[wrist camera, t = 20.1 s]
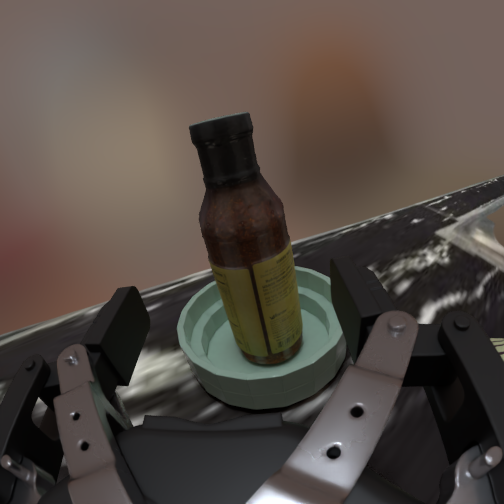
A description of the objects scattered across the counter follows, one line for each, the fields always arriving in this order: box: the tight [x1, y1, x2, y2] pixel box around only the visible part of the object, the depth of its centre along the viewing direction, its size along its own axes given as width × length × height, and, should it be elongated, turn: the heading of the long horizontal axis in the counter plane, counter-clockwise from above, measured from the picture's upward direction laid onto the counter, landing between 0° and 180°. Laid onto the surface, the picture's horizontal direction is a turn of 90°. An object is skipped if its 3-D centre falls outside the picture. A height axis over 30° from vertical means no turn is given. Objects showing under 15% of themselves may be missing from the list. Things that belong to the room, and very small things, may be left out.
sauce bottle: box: [189, 112, 303, 364], centre depth 21 cm, size 6×6×20 cm
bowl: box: [177, 266, 347, 410], centre depth 25 cm, size 15×15×5 cm
